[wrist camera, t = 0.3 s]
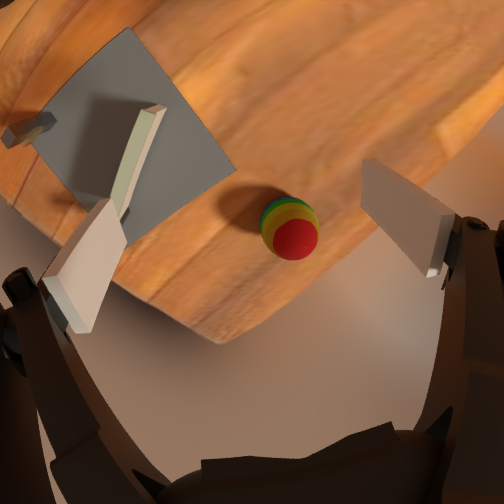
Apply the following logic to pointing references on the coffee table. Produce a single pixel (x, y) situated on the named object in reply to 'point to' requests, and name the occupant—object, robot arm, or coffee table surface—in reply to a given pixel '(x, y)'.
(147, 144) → the gate
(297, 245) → the decorative egg
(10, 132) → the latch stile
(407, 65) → the coffee table surface
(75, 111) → the mat
